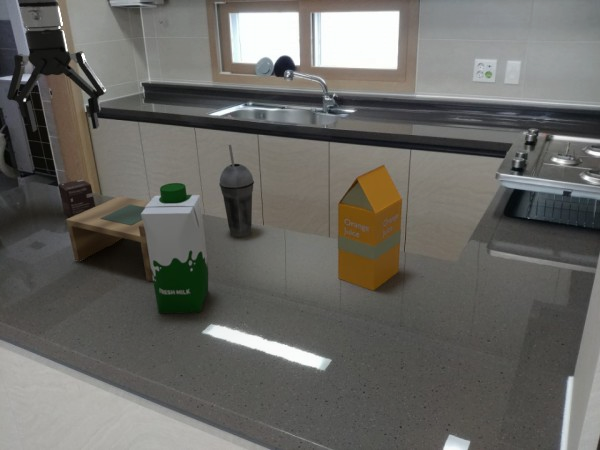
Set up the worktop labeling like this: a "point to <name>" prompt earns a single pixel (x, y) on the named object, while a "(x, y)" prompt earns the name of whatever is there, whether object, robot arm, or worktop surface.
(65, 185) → the box
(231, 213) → the beverage cup
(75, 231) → the shelf
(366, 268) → the orange juice
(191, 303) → the milk carton
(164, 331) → the worktop surface
